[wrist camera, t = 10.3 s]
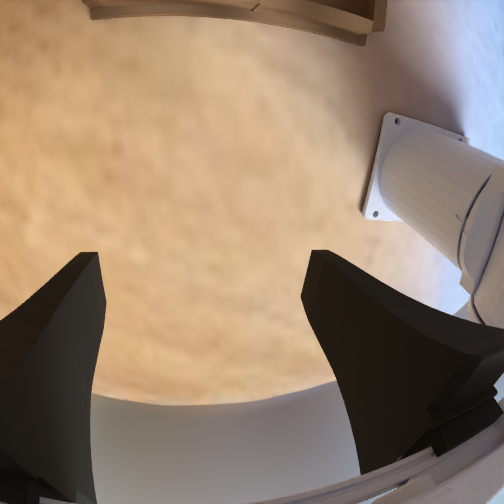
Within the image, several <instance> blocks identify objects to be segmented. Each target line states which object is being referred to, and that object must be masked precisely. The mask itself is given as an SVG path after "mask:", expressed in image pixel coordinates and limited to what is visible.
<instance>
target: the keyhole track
mask: <svg viewBox="0 0 504 504" xmlns="http://www.w3.org/2000/svg"><path fill="white" fill-rule="evenodd" d="M82 2H83V3H84V4H86V5H87V6H89V7H90V8H91V9H92V11H91V19H92V20H98V19H107V18H119V17H135V16H195V17H212V18H224V19H234V20H243V21H251V22H258V23H264V24H271V25H277V26H282V27H287V28H293V29H297V30H302V31H307V32H311V33H315V34H320V35H324V36H328V37H331V38H335V39H339V40H342V41H346V42H349V43H353V44H356V45H359V46H365V44H366V36H367V33H372V32H381V31H384V26H385V17H386V6H387V0H83V1H82Z"/></svg>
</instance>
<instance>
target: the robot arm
mask: <svg viewBox="0 0 504 504" xmlns="http://www.w3.org/2000/svg"><path fill="white" fill-rule="evenodd" d="M396 118H397V123H396V124H395V119H396ZM458 140H459V141H458ZM375 211H376V213H375V214H374V215H373V213H374V212H375ZM362 215H363V217H364V218H366V219H368V220H384V221H402V222H405V223H406V224H407V225H408V226H410V227H411V228H412V229H413V230H415V231H416V232H417V233H418V234H419V235H421V236H422V237H423V238H424V239H425V240H427V241H428V242H429V243H430V244H431V245H432V246H434V247H435V248H436V249H437V250H438V251H439V252H441V253H442V254H443V255H444V256H445V257H446V258H447V259H449V260H450V261H451V262H452V263H453V264H454V265H455V266H456V267H457V268H458V269H460V270H461V271H462V277H461V280H460V285H461V286H462V287H463V288H464V289H465V290H466V291H467V292H468V293H469V294H470V295H471V296H470V298H469V301H468V314H469V317H470V320H471V321H468V320H465V319H461V318H458V317H455V316H452V315H449V314H447V313H444V312H442V311H439V310H436V309H434V308H432V307H429V306H427V305H425V304H422V303H420V302H418V301H416V300H414V299H412V298H410V297H408V296H406V295H404V294H402V293H400V292H398V291H397V290H395V289H393V288H391V287H390V286H388V285H386V284H384V283H383V282H381V281H379V280H378V279H376V278H374V277H373V276H371V275H370V274H368V273H366V272H365V271H363V270H362V269H360V268H358V267H357V266H355V265H354V264H352V263H350V262H349V261H347V260H346V259H344V258H342V257H340V256H339V255H337V254H335V253H333V252H331V251H329V250H312V252H311V256H310V260H309V264H308V268H307V273H306V277H305V281H304V285H303V289H302V293H301V300H302V303H303V306H304V309H305V312H306V315H307V318H308V321H309V323H310V325H311V327H312V329H313V331H314V333H315V335H316V337H317V339H318V341H319V343H320V345H321V347H322V349H323V351H324V353H325V355H326V357H327V359H328V361H329V363H330V366H331V368H332V370H333V372H334V374H335V377H336V379H337V382H338V385H339V388H340V391H341V394H342V397H343V400H344V403H345V406H346V410H347V413H348V417H349V420H350V424H351V428H352V432H353V436H354V440H355V444H356V450H357V455H358V460H359V466H360V473H361V476H358V477H355V478H352V479H349V480H346V481H343V482H340V483H336V484H333V485H330V486H326V487H323V488H319V489H315V490H311V491H307V492H303V493H299V494H295V495H290V496H286V497H282V498H276V499H270V500H266V501H259V502H253V503H246V504H357V503H360V502H363V501H365V500H368V499H370V498H373V497H375V496H378V495H380V494H383V493H385V492H387V491H390V490H392V489H394V488H397V487H398V488H397V489H396V490H394V491H392V492H390V493H388V494H386V495H384V496H382V497H380V498H378V499H376V500H375V501H374V502H373V503H372V504H487V503H488V502H490V501H491V500H492V499H493V498H494V497H495V496H496V495H497V493H498V492H499V491H500V490H501V489H502V488H503V487H504V398H502V399H501V400H500V401H499V402H498V403H497V402H496V400H495V399H494V396H496V395H497V390H496V389H495V387H494V386H493V385H494V384H495V383H496V381H497V380H498V379H499V378H500V376H501V375H502V374H503V373H504V161H503V160H501V159H499V158H497V157H495V156H493V155H490V154H488V153H486V152H484V151H482V150H479V149H477V148H475V147H472V146H470V140H469V138H467V137H464V136H462V135H459V134H456V133H454V132H451V131H448V130H445V129H442V128H440V127H437V126H434V125H431V124H428V123H425V122H422V121H418V120H415V119H412V118H409V117H405V116H402V115H398V114H395V113H391V112H388V113H386V114H385V115H384V118H383V123H382V129H381V134H380V139H379V143H378V148H377V153H376V157H375V162H374V166H373V171H372V175H371V179H370V183H369V187H368V191H367V195H366V199H365V203H364V207H363V211H362ZM105 311H106V297H105V292H104V286H103V281H102V275H101V269H100V263H99V256H98V252H80V253H79V254H78V255H76V256H75V257H74V258H73V259H72V260H71V261H70V262H68V263H67V264H66V265H65V266H64V267H63V268H62V269H61V270H60V271H59V272H58V273H57V274H55V275H54V276H53V277H52V278H51V279H50V280H49V281H48V282H47V283H46V284H45V285H43V286H42V287H41V288H40V289H39V290H38V291H37V292H35V293H34V294H33V295H32V296H31V297H30V298H29V299H27V300H26V301H25V302H24V303H23V304H21V305H20V306H19V307H18V308H16V309H15V310H14V311H13V312H11V313H10V314H9V315H7V316H6V317H5V318H3V319H2V320H0V504H97V501H96V495H95V489H94V481H93V473H92V461H91V446H90V406H91V390H92V383H93V377H94V372H95V367H96V362H97V357H98V352H99V347H100V343H101V338H102V334H103V329H104V321H105Z"/></svg>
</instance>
